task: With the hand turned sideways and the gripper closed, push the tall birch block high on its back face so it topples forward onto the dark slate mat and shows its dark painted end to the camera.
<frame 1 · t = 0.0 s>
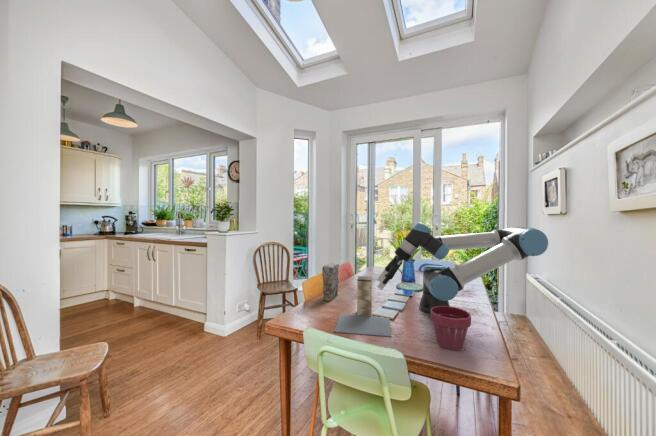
hand: (379, 284, 132), 15 cm above the table, tool tilted 35°, fingers open, 13 cm apart
stone block: (330, 298, 159), on the table
slate mat: (363, 324, 121), on the table
birch block: (364, 313, 135), on the table
plant pot: (449, 344, 103), on the table
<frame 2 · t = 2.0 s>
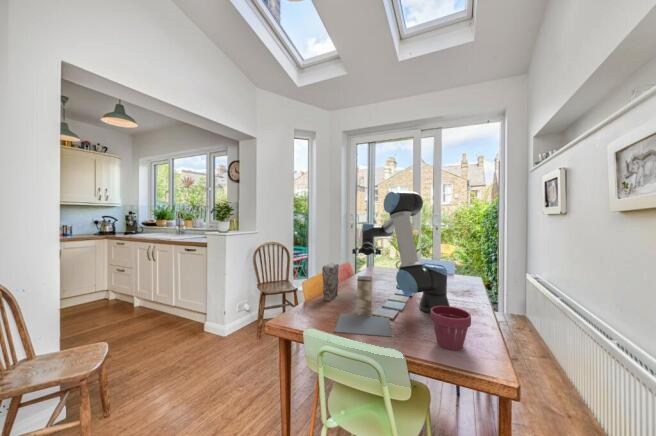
hand: (365, 254, 148), 28 cm above the table, tool horizontal, fingers open, 9 cm apart
nothing on the table moved.
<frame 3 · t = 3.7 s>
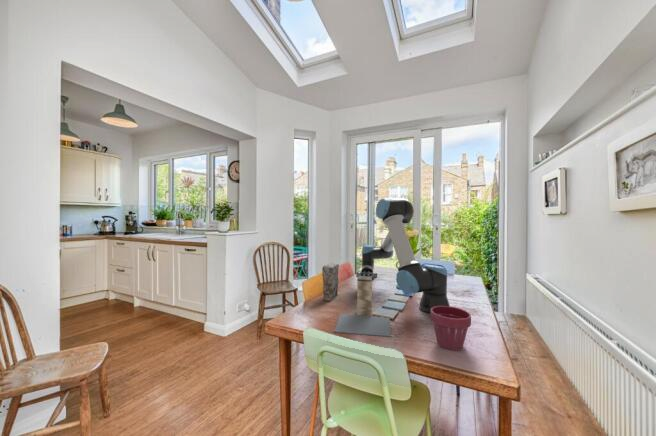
hand: (365, 282, 145), 13 cm above the table, tool horizontal, fingers closed
nothing on the table moved.
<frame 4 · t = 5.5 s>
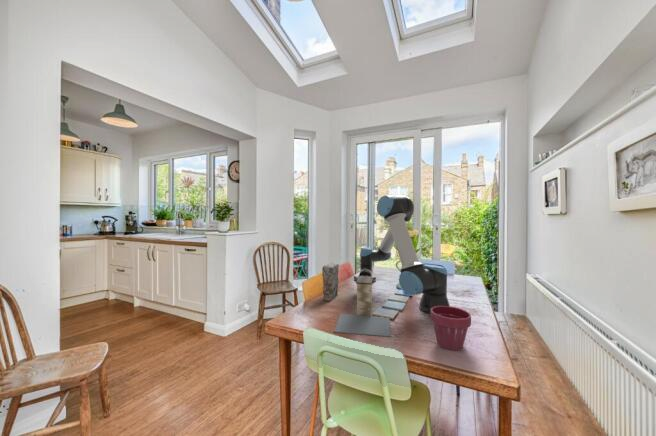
hand: (363, 286, 136), 13 cm above the table, tool horizontal, fingers closed
birch block: (364, 311, 135), point 1 cm above the table, tilted 13°
everything else where it was.
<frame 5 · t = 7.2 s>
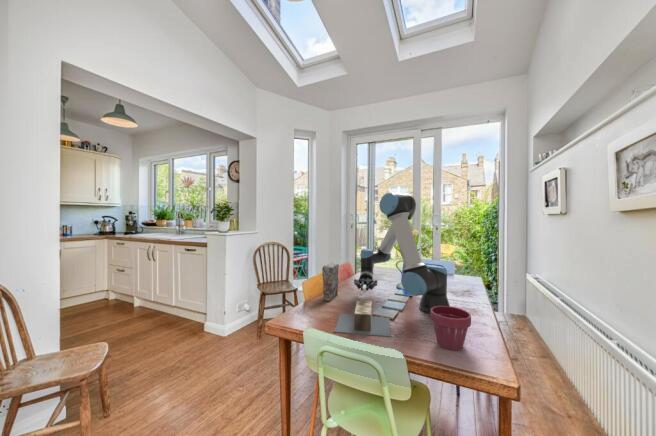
hand: (364, 290, 129), 13 cm above the table, tool horizontal, fingers closed
birch block: (364, 307, 132), point 4 cm above the table, tilted 90°, touching slate mat
everything else where it was.
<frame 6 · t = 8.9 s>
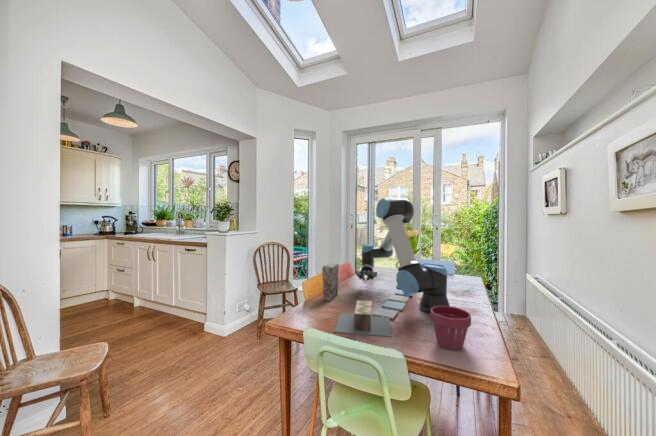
hand: (365, 280, 145), 14 cm above the table, tool horizontal, fingers closed
nothing on the table moved.
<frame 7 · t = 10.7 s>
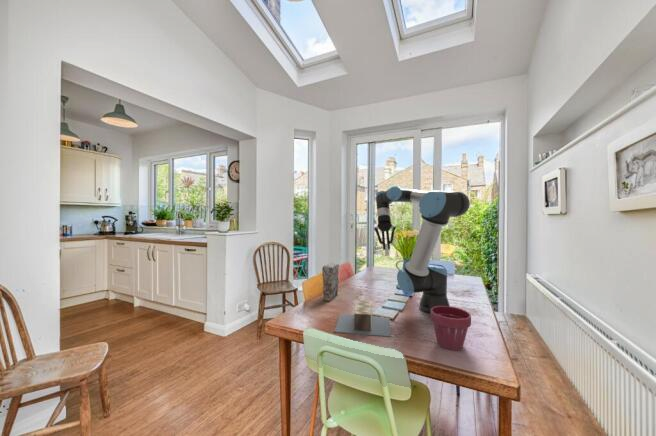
hand: (387, 255, 153), 26 cm above the table, tool tilted 20°, fingers closed
nothing on the table moved.
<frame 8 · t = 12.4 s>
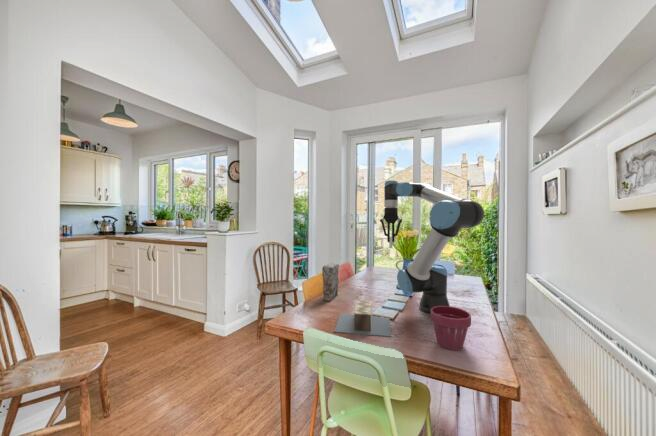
hand: (390, 247, 155), 30 cm above the table, tool pointing down, fingers closed
nothing on the table moved.
at the end: birch block tilted 90°; birch block touching slate mat; the gripper is holding nothing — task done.
